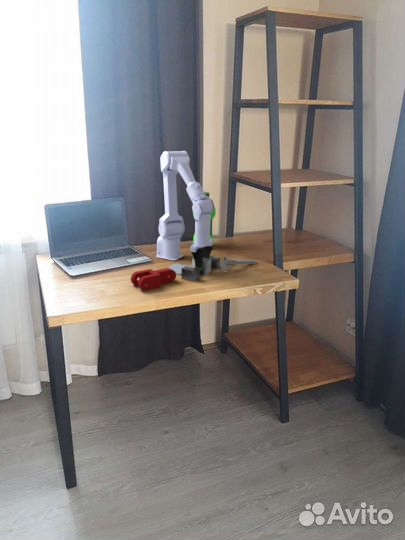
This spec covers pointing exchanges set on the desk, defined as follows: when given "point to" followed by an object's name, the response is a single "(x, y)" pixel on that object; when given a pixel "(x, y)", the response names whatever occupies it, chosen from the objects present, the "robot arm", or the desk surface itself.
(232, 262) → the caliper
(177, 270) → the mat
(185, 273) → the vise
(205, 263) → the white block
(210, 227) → the plastic bottle
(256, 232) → the desk surface
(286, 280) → the desk surface
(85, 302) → the desk surface
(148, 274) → the mechanical linkage
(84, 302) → the desk surface
